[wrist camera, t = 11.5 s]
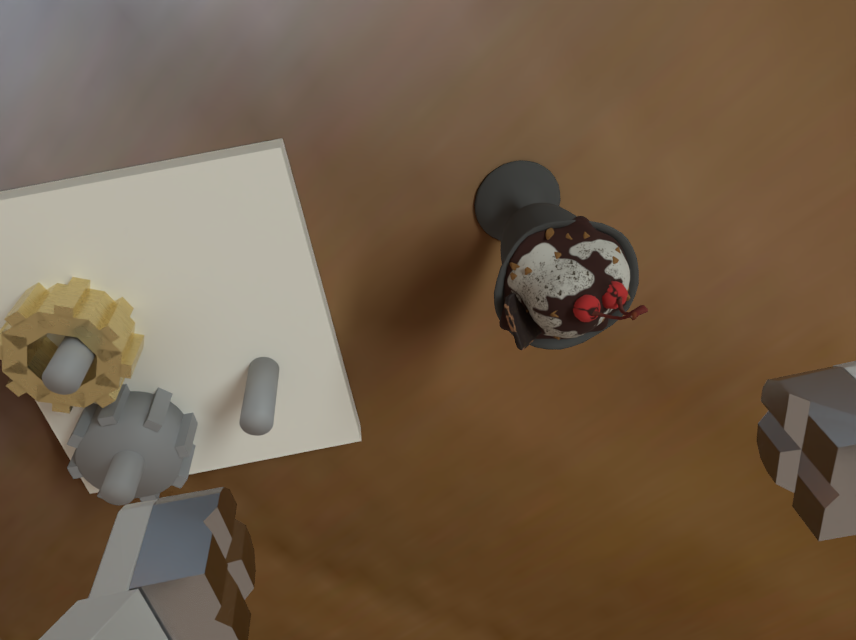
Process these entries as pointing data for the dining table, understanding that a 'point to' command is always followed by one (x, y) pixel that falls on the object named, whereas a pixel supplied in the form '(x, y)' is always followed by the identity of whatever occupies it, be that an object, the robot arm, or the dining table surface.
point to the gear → (77, 317)
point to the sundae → (553, 261)
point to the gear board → (186, 316)
